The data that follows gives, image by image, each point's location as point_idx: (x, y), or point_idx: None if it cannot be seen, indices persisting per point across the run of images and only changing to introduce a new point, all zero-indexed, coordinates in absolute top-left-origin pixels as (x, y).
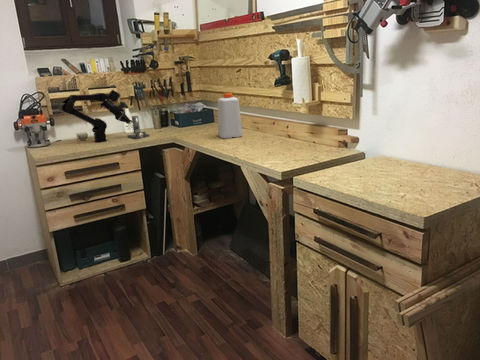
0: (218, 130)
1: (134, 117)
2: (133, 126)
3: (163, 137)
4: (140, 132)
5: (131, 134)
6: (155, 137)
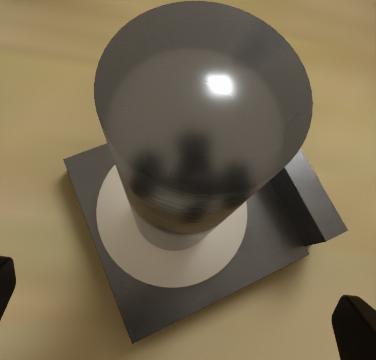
0: None
1: (300, 128)
2: (207, 233)
3: (339, 24)
4: (308, 175)
5: (185, 286)
6: (308, 75)
